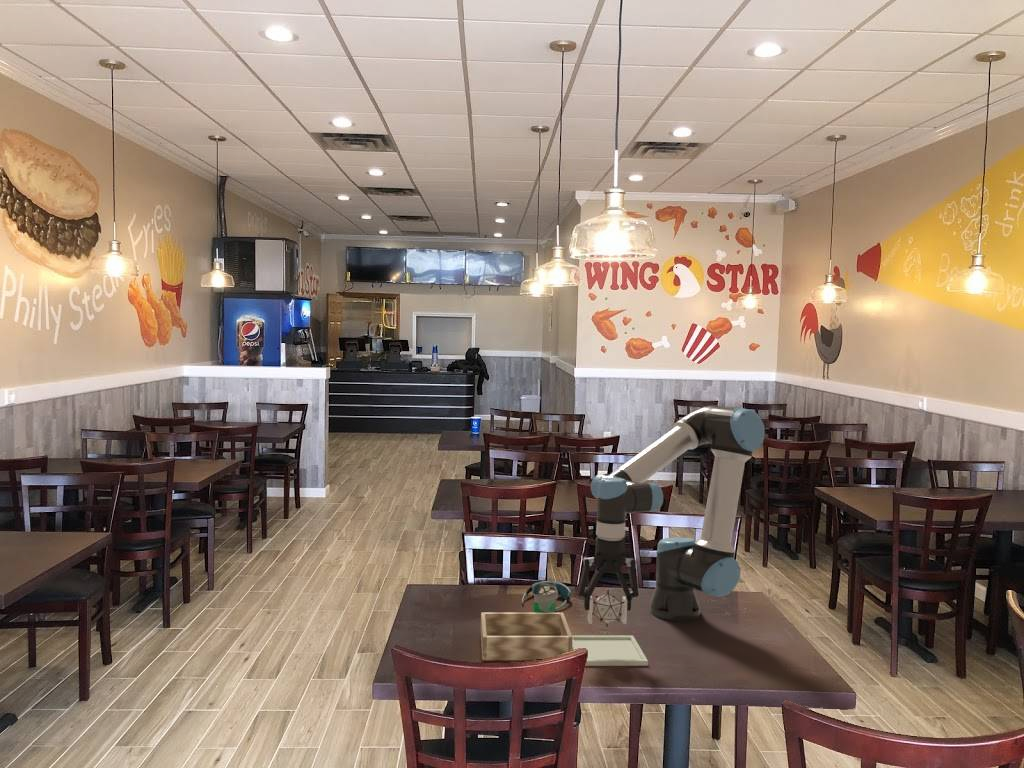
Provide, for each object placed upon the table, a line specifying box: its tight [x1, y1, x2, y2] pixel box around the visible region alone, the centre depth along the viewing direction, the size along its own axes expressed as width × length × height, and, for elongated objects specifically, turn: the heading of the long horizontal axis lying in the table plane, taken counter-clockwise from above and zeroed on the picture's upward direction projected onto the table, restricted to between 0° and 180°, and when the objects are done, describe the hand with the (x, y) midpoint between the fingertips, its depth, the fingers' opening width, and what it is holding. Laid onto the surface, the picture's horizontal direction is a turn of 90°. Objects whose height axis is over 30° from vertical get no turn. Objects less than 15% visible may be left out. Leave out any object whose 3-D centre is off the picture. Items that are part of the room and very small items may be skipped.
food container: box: [533, 583, 559, 613], centre depth 221 cm, size 12×6×10 cm, turn 168°
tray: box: [571, 634, 649, 667], centre depth 202 cm, size 18×17×1 cm
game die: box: [592, 589, 624, 628], centre depth 201 cm, size 9×8×10 cm
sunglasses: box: [521, 580, 572, 612], centre depth 238 cm, size 14×15×5 cm
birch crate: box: [480, 611, 573, 661], centre depth 204 cm, size 23×18×6 cm
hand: (606, 622), depth 201 cm, fingers closed on game die, 8 cm apart
